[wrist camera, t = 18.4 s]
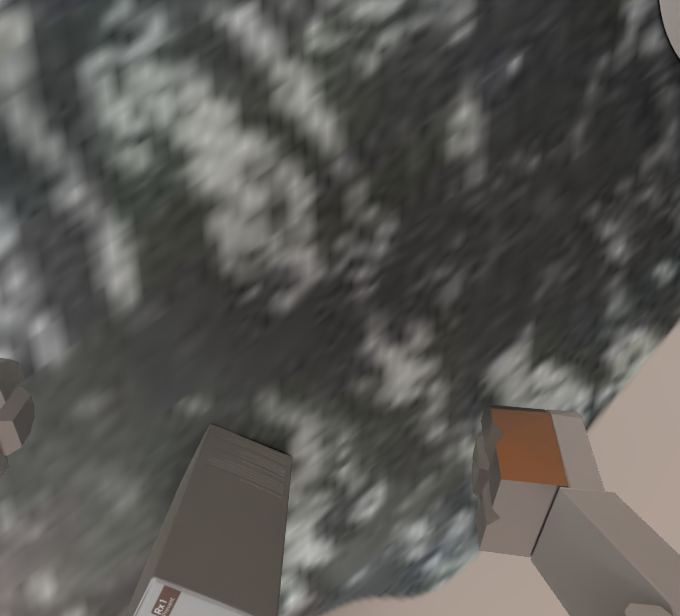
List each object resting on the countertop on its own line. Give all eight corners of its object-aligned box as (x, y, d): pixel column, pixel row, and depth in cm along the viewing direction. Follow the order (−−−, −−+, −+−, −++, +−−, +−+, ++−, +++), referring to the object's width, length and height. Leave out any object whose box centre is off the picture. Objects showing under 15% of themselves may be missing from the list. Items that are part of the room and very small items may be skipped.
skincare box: (248, 543, 45) (221, 762, 30) (155, 509, 44) (78, 721, 29) (298, 450, 43) (295, 638, 28) (201, 411, 42) (144, 586, 27)
